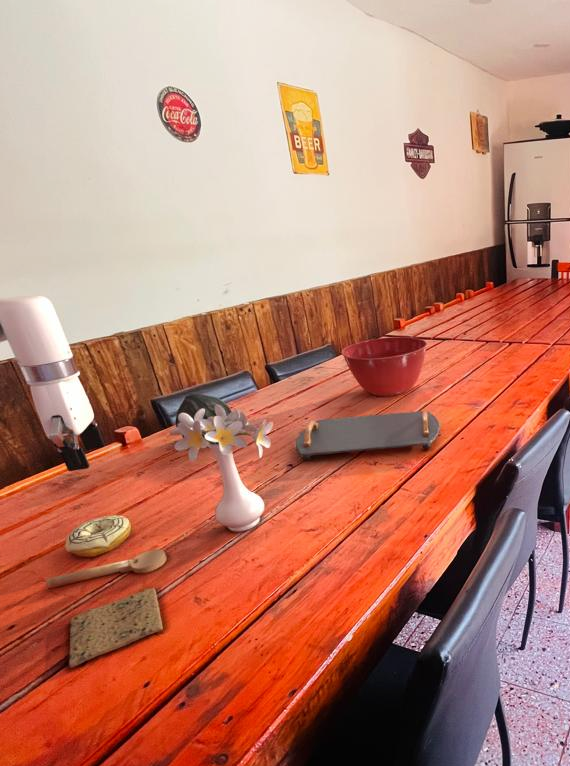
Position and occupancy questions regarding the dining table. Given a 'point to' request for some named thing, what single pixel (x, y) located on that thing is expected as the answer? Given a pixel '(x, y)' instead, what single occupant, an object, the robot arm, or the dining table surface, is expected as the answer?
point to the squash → (200, 407)
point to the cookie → (113, 626)
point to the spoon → (113, 568)
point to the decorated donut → (98, 536)
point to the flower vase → (226, 460)
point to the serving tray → (367, 433)
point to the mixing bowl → (386, 364)
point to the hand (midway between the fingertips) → (87, 457)
